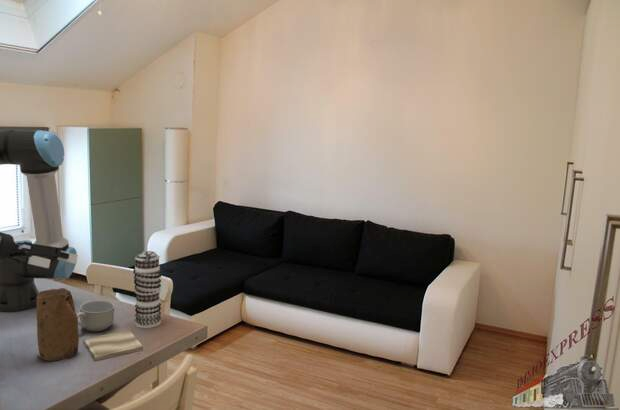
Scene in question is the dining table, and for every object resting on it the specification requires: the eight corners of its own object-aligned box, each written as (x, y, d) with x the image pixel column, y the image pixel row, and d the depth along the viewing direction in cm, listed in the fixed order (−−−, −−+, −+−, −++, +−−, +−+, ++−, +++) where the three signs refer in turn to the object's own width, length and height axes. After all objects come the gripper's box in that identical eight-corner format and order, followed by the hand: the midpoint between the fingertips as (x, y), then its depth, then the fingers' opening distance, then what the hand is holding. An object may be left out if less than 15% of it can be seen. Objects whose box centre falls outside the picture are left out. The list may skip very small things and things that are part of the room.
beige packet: (83, 342, 163) (83, 338, 163) (129, 333, 171) (129, 329, 171) (95, 360, 152) (95, 356, 152) (143, 349, 160) (143, 345, 160)
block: (38, 364, 149) (34, 297, 145) (38, 353, 155) (35, 288, 152) (79, 357, 153) (77, 292, 150) (78, 347, 160) (75, 284, 156)
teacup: (104, 318, 182) (103, 297, 180) (121, 327, 175) (120, 305, 174) (64, 330, 171) (63, 307, 170) (81, 340, 164) (80, 316, 163)
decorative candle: (146, 330, 173) (145, 258, 169) (128, 323, 178) (126, 253, 174) (167, 322, 181) (167, 252, 177) (149, 315, 186) (148, 248, 181)
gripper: (-35, 262, 148) (35, 277, 165) (15, 252, 136) (85, 270, 153) (-28, 237, 151) (40, 254, 168) (22, 225, 138) (90, 245, 155)
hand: (62, 261), depth 160 cm, fingers open, 13 cm apart
